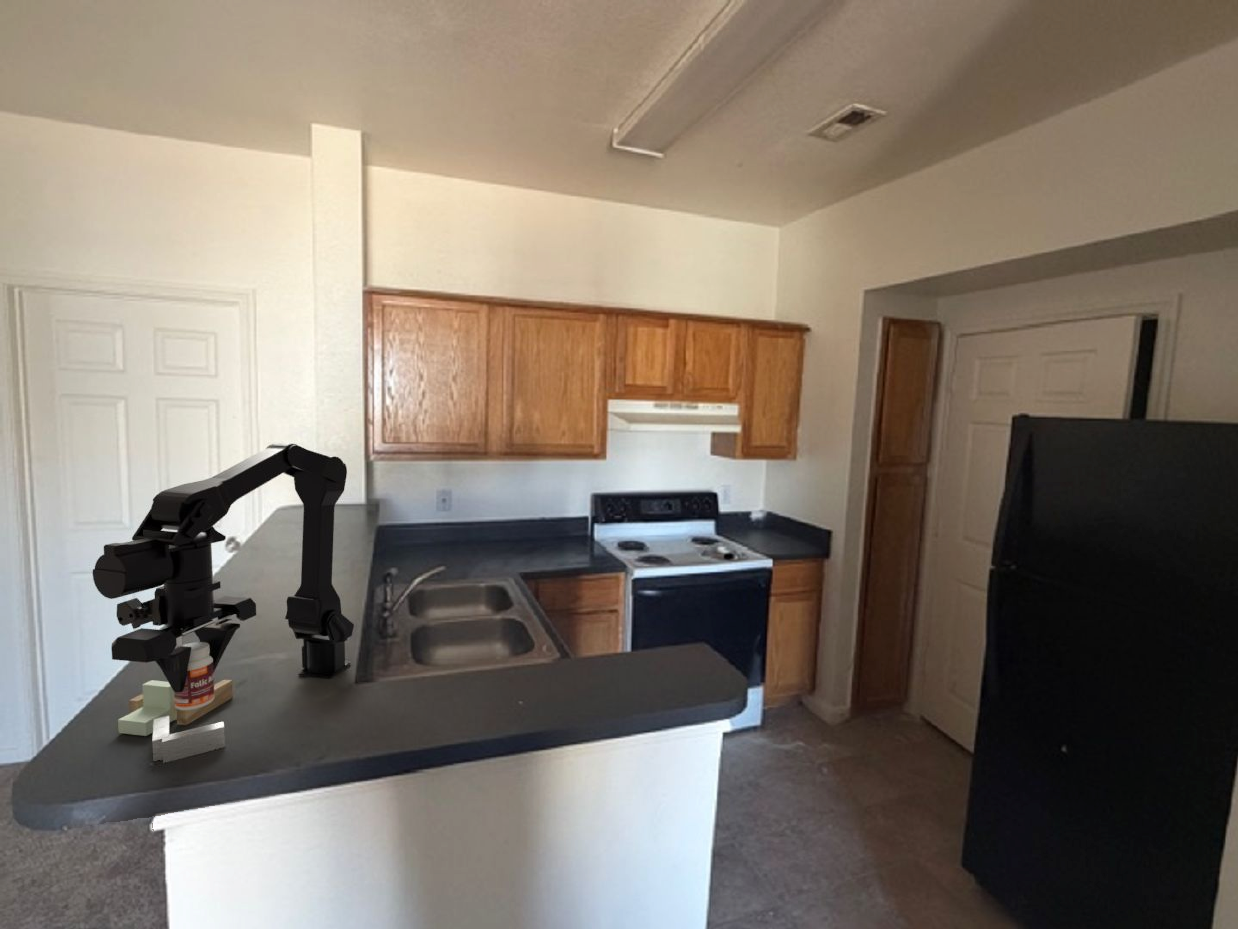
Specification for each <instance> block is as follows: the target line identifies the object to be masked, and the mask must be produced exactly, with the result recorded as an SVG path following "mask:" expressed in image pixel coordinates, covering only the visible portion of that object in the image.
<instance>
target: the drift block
mask: <svg viewBox="0 0 1238 929" xmlns="http://www.w3.org/2000/svg"><path fill="white" fill-rule="evenodd" d="M141 687H142V694H143V707H142V708H140V709H138V710H136V711H134V712H132V713H130V712H129V714H126V715H125V716H122V717H121V718H119V719H117V723H118V724H117V725H118V726H117V727H118V730H117V731H118V733H119V734H124V735H126V734H127V735H133V736H142V737H143V736H144V737H147V736H149V735H150V734H153V724H154V719H157V718H161V717H166V716H169V719H170V723H172V722H173V721H175V720H177V708H176V707H175V702H174V691H173V689H172V687H171V686H170V684H169V682H167V681H162V680H153V679H152V680H148V681H147V682H145V683H143V684H142V686H141Z"/></svg>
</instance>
